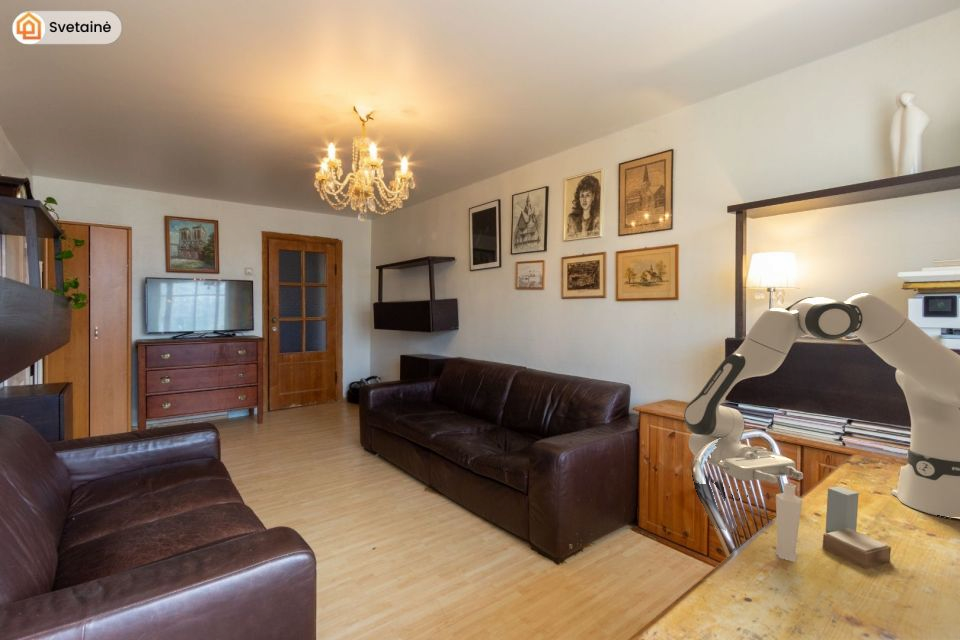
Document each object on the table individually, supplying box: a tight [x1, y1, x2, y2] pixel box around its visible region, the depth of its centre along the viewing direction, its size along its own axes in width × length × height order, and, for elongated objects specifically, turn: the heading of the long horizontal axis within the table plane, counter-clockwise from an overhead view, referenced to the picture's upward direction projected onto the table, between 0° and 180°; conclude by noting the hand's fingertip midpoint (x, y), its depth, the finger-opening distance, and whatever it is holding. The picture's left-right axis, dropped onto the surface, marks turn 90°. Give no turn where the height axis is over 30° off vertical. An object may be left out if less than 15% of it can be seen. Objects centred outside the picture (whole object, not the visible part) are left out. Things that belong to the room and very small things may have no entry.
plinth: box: [822, 528, 892, 569], centre depth 95 cm, size 8×8×3 cm
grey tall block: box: [825, 485, 859, 533], centre depth 104 cm, size 4×4×10 cm
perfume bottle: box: [774, 482, 803, 563], centre depth 93 cm, size 5×4×15 cm
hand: (788, 478), depth 115 cm, fingers open, 8 cm apart
